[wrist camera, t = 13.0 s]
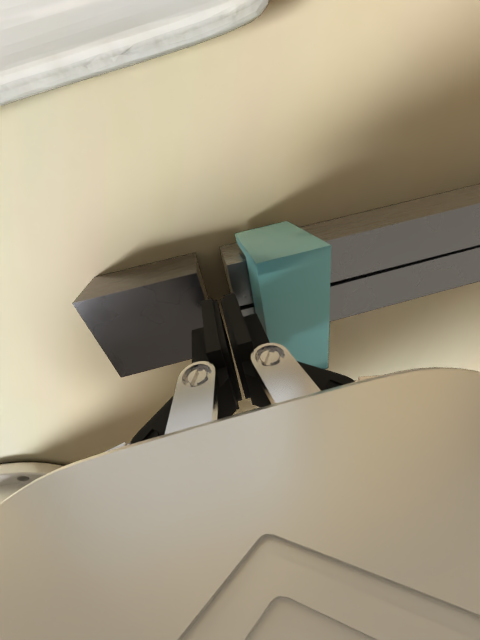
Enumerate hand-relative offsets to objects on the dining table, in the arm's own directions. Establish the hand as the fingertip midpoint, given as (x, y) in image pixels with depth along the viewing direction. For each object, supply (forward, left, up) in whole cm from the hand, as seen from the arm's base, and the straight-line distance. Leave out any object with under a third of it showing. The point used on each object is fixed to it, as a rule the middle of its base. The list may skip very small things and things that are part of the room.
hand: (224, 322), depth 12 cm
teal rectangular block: (+3, 0, -3) cm, 5 cm away
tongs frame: (+8, 0, -4) cm, 9 cm away
